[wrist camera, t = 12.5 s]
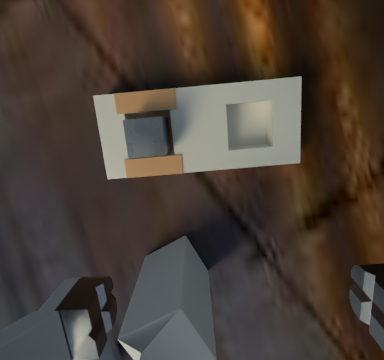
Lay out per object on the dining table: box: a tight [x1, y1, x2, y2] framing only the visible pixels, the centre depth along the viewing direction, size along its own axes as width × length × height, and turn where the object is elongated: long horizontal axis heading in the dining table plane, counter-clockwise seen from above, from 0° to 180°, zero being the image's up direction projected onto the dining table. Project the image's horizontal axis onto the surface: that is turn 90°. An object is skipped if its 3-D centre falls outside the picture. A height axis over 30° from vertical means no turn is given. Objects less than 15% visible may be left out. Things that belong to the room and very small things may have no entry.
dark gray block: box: [123, 116, 171, 158], centre depth 29 cm, size 4×4×7 cm
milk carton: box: [118, 236, 217, 360], centre depth 30 cm, size 7×7×19 cm
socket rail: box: [93, 76, 302, 179], centre depth 32 cm, size 24×10×4 cm, turn 95°
